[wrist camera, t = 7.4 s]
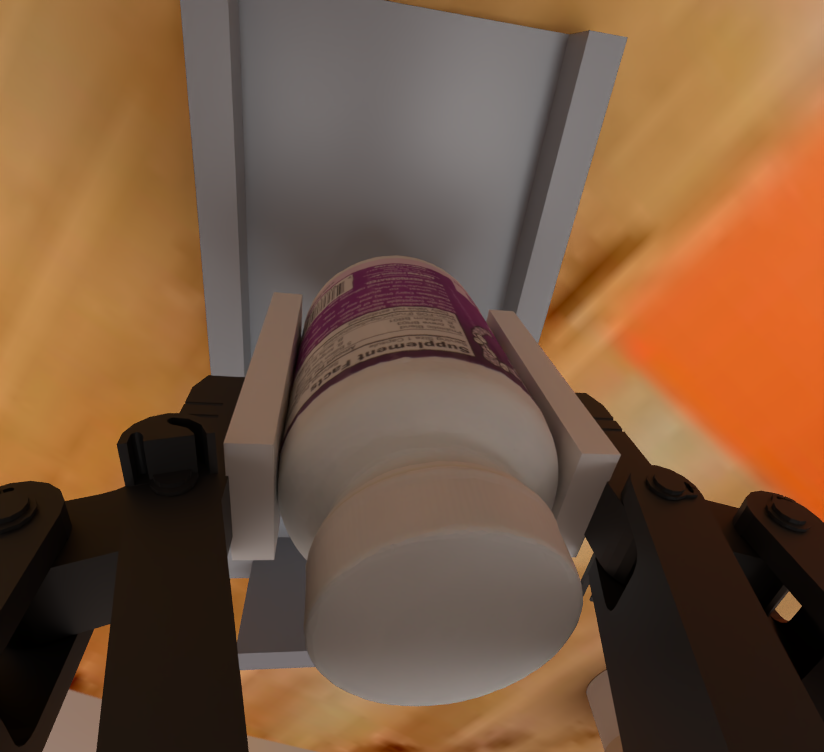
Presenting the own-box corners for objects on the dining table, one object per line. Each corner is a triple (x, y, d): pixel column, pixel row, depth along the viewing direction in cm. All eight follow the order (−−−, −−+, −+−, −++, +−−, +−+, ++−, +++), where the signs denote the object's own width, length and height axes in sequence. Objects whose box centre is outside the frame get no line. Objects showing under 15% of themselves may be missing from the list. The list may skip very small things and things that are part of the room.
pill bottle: (486, 386, 16) (630, 689, 8) (332, 423, 16) (321, 762, 8) (463, 227, 14) (644, 446, 5) (277, 272, 14) (176, 558, 5)
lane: (201, -29, 14) (99, -105, 8) (591, 43, 16) (730, 22, 11) (237, 538, 26) (205, 671, 20) (460, 537, 28) (491, 659, 22)
